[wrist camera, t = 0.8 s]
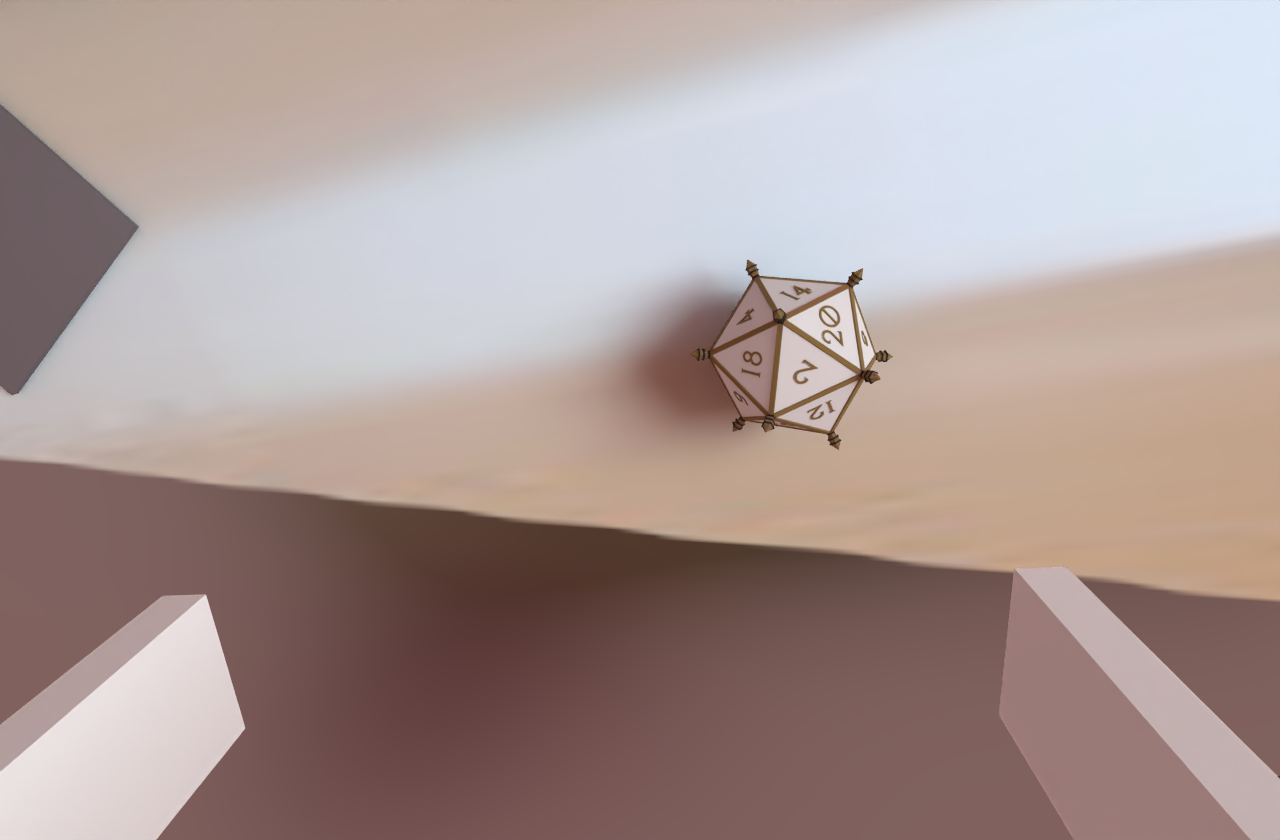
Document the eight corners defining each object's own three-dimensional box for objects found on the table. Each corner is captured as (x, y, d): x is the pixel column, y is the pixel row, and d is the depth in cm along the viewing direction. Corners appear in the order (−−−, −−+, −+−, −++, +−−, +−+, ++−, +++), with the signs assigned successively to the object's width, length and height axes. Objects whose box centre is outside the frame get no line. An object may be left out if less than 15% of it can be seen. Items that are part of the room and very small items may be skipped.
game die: (746, 305, 41) (704, 209, 32) (903, 321, 38) (905, 219, 28) (711, 455, 39) (655, 398, 30) (872, 485, 36) (864, 431, 27)
